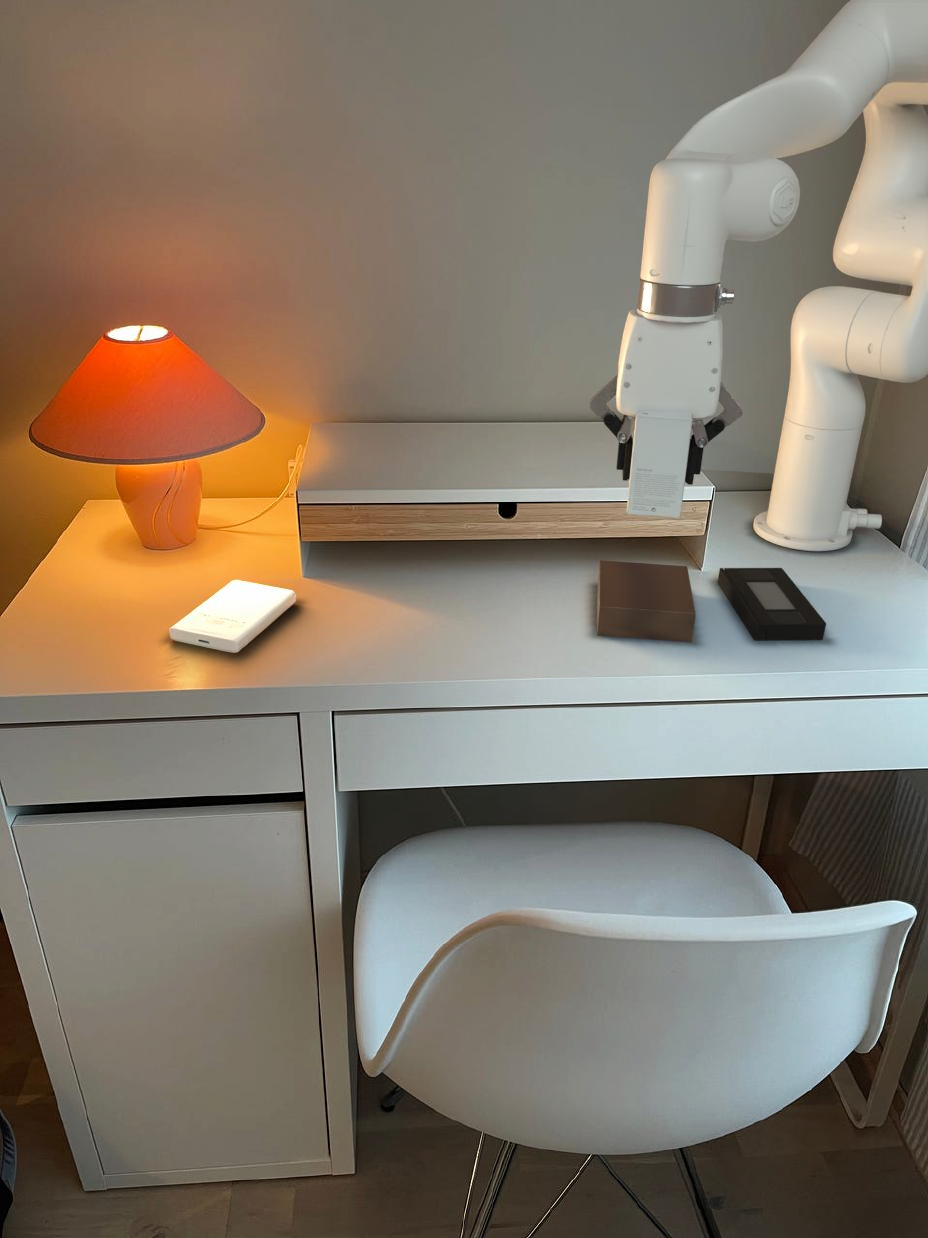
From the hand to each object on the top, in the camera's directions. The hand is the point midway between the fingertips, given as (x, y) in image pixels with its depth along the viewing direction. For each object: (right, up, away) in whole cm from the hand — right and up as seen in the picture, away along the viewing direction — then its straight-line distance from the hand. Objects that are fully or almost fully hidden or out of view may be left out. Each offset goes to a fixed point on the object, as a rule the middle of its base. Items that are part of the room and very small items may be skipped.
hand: (656, 476), depth 104 cm
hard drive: (-45, -15, +4) cm, 48 cm away
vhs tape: (+14, -14, +9) cm, 22 cm away
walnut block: (0, -14, +7) cm, 16 cm away
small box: (0, -3, +1) cm, 3 cm away
